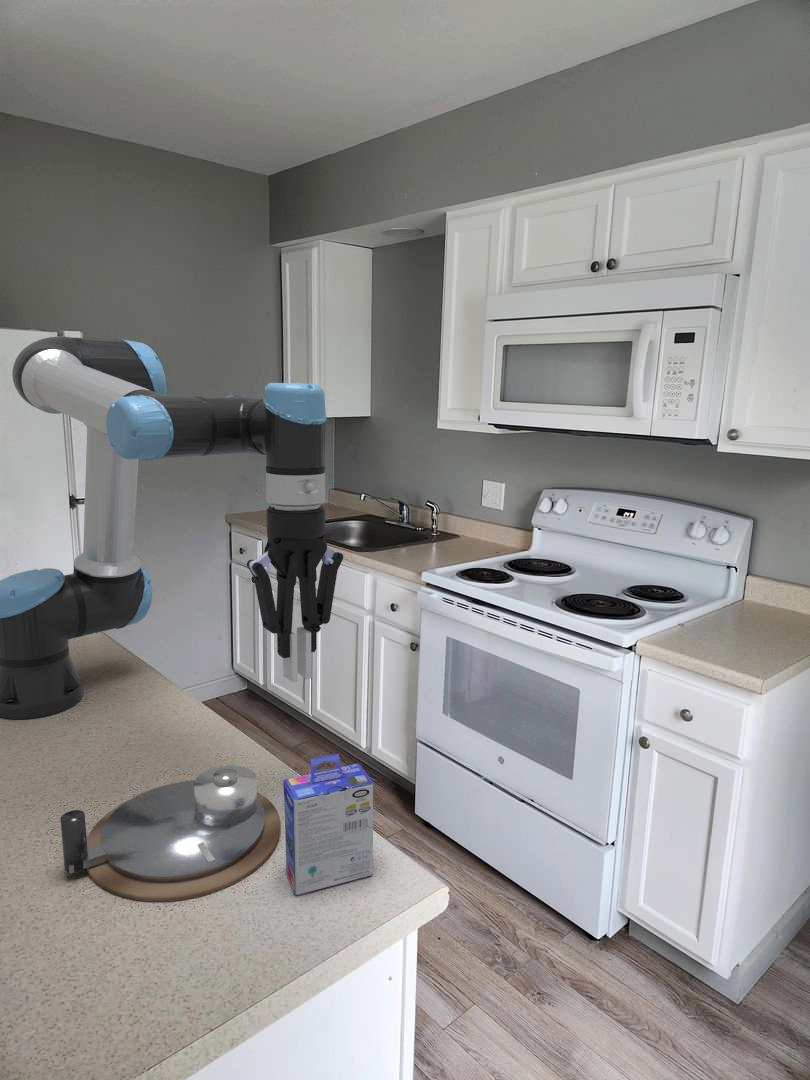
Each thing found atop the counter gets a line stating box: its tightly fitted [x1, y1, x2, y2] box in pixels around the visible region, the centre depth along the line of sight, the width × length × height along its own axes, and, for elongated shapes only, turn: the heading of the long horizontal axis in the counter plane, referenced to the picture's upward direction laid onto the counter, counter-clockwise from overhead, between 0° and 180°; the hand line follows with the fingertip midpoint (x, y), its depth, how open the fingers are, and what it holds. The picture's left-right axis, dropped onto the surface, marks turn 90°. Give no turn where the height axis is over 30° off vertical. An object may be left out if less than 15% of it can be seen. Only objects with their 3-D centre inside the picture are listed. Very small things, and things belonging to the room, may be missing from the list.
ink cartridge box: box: [282, 753, 375, 896], centre depth 86 cm, size 10×6×14 cm, turn 114°
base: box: [85, 791, 281, 903], centre depth 94 cm, size 24×24×1 cm
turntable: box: [60, 780, 265, 882], centre depth 92 cm, size 20×24×6 cm
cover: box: [194, 765, 258, 826], centre depth 96 cm, size 8×8×5 cm
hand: (297, 676), depth 99 cm, fingers closed
